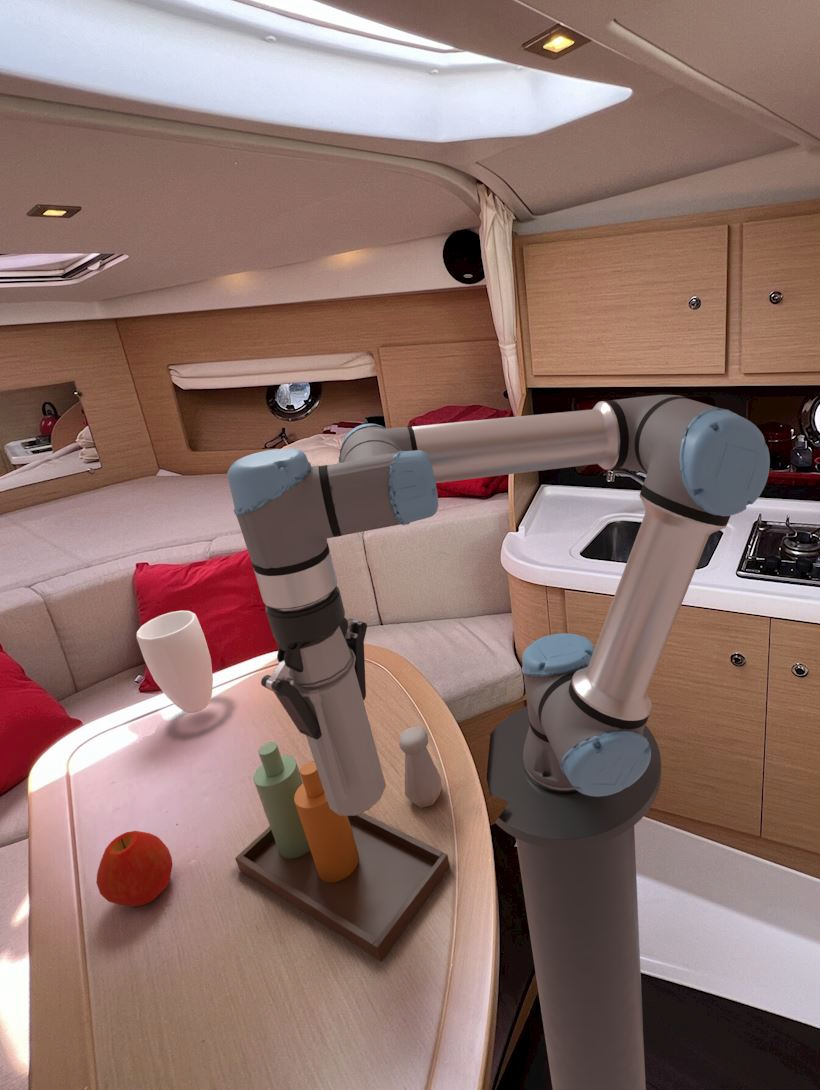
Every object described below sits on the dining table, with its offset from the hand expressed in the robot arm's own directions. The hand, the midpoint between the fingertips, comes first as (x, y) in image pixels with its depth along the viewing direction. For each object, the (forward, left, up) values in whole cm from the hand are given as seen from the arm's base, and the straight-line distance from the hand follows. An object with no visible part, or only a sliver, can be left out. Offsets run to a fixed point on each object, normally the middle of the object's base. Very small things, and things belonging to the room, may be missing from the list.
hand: (347, 762), depth 73 cm
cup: (+36, -48, -23) cm, 64 cm away
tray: (+6, -5, -23) cm, 24 cm away
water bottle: (0, 0, -7) cm, 7 cm away
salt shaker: (-6, -14, -23) cm, 28 cm away
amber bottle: (+6, -6, -22) cm, 24 cm away
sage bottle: (+12, -12, -22) cm, 28 cm away
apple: (+33, -10, -23) cm, 41 cm away
